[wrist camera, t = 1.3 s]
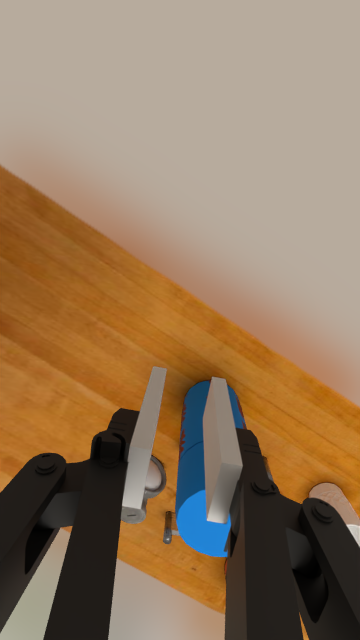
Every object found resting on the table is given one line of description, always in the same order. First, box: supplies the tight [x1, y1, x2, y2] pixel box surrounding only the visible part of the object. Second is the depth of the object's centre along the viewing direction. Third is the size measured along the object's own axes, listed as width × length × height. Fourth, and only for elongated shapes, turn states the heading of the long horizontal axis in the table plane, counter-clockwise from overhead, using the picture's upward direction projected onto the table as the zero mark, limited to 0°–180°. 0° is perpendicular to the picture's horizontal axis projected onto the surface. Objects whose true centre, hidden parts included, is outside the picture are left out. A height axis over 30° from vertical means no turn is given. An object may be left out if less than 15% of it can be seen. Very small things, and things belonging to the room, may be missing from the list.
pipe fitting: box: [121, 455, 166, 524], centre depth 61 cm, size 12×8×10 cm
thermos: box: [175, 380, 247, 557], centre depth 48 cm, size 11×11×25 cm
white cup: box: [309, 483, 360, 547], centre depth 60 cm, size 8×8×10 cm
